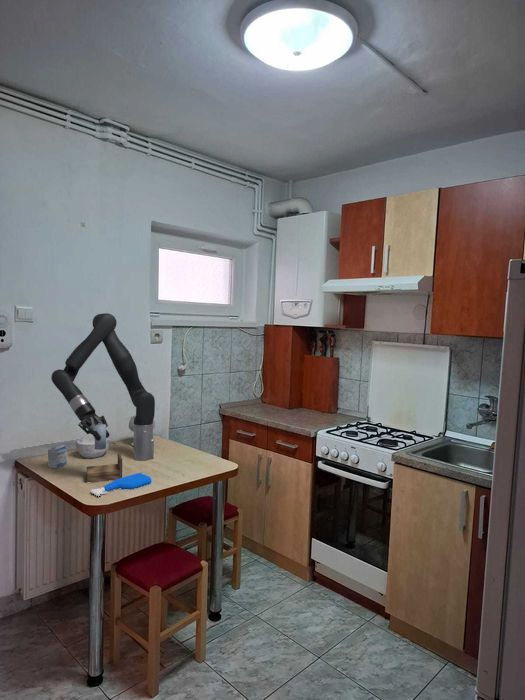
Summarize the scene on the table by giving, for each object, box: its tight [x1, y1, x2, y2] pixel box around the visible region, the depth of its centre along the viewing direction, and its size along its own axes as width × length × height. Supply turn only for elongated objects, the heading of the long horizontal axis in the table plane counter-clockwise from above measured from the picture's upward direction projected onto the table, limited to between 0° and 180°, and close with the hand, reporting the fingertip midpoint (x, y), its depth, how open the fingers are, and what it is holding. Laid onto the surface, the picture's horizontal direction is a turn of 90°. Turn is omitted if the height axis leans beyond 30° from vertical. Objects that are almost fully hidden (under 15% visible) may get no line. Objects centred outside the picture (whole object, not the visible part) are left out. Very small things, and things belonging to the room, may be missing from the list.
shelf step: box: [86, 452, 123, 483], centre depth 205 cm, size 14×10×9 cm
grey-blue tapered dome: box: [95, 424, 107, 450], centre depth 204 cm, size 5×5×10 cm
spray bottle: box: [90, 472, 152, 498], centre depth 194 cm, size 3×11×24 cm
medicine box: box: [47, 444, 68, 469], centre depth 220 cm, size 8×4×9 cm, turn 168°
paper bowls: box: [75, 436, 110, 459], centre depth 237 cm, size 15×15×8 cm
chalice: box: [128, 415, 156, 447], centre depth 260 cm, size 14×14×15 cm
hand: (103, 438), depth 203 cm, fingers closed on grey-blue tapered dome, 4 cm apart
